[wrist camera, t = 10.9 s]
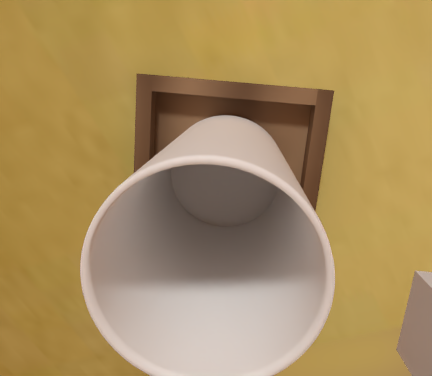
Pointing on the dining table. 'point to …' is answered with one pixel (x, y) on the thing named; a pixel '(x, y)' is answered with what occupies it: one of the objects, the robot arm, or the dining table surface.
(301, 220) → the cup
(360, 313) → the dining table surface
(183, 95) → the square wooden tray
